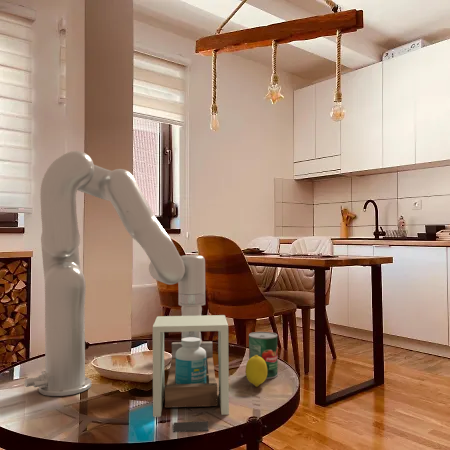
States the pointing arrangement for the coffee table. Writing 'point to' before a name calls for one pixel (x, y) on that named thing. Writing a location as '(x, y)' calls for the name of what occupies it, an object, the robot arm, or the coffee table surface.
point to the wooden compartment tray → (191, 392)
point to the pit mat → (190, 426)
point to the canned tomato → (265, 350)
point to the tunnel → (188, 325)
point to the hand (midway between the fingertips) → (192, 364)
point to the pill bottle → (190, 362)
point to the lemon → (256, 370)
